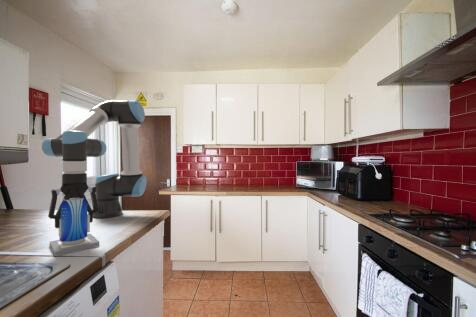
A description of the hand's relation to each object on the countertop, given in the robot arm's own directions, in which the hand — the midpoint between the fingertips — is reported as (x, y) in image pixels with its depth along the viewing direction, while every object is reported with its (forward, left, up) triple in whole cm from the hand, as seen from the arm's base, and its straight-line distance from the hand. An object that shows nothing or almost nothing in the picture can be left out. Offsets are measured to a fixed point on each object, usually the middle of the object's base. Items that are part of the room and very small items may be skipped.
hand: (74, 233), depth 86 cm
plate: (0, 0, -4) cm, 4 cm away
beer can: (0, 0, -3) cm, 3 cm away
